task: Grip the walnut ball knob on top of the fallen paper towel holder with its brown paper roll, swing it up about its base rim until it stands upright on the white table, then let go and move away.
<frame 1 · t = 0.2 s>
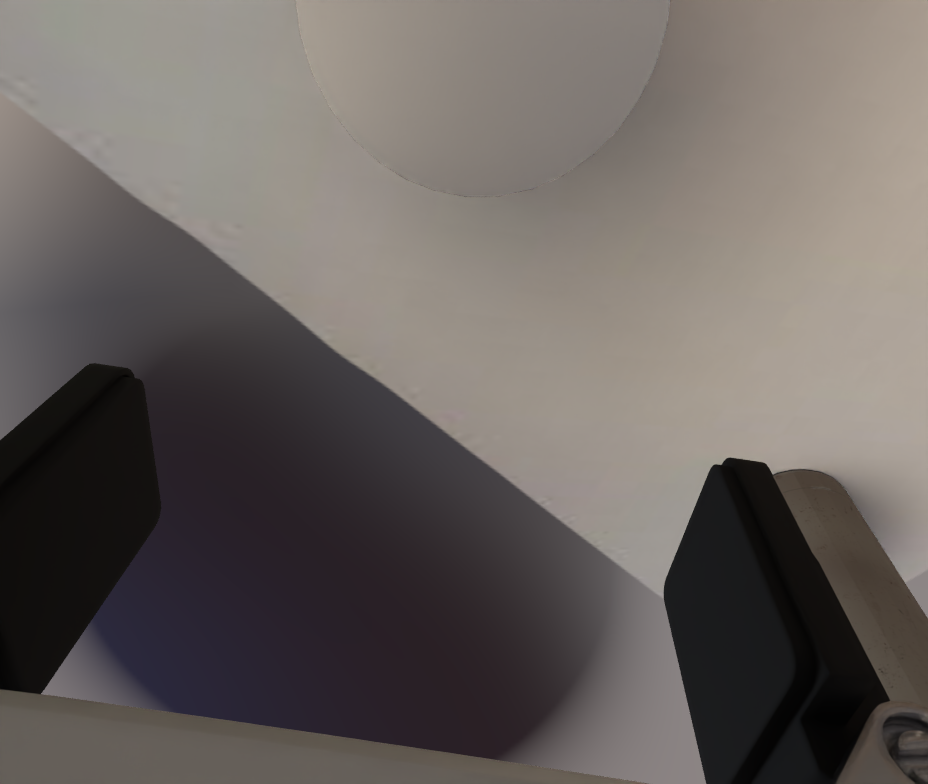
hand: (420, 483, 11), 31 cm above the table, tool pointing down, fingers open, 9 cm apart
thermos bottle: (789, 510, 50), on the table
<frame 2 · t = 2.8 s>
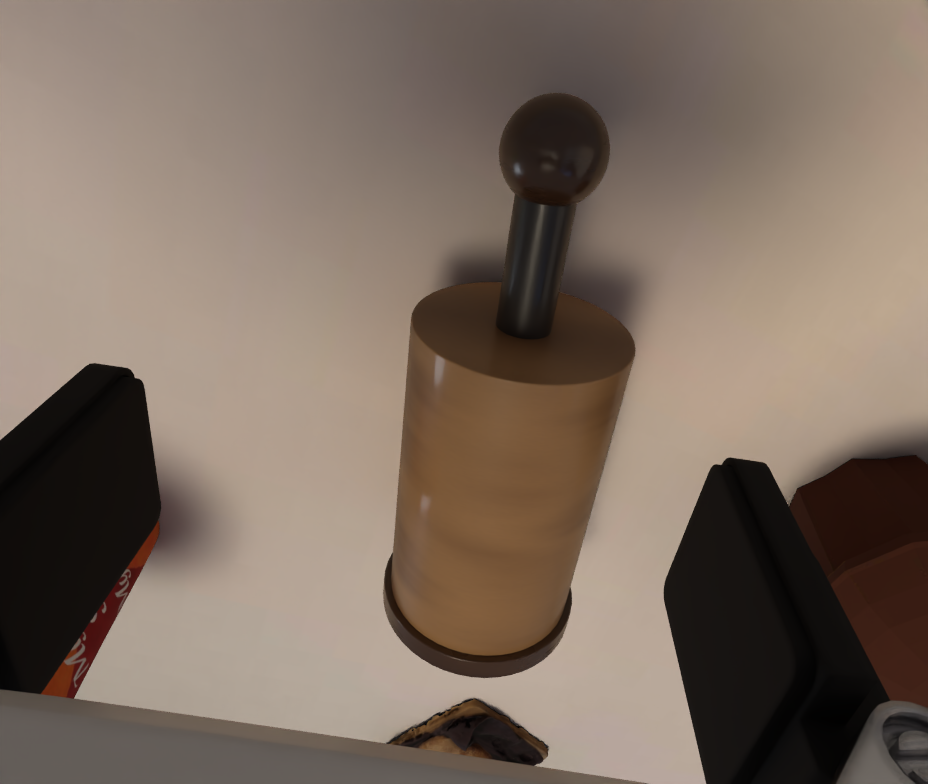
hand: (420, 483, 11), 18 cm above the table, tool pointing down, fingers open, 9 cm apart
paper cup: (109, 513, 36), on the table
muffin: (867, 523, 33), on the table
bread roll: (457, 750, 46), on the table
paper towel holder: (510, 400, 26), point 4 cm above the table, hinge at -90.1°
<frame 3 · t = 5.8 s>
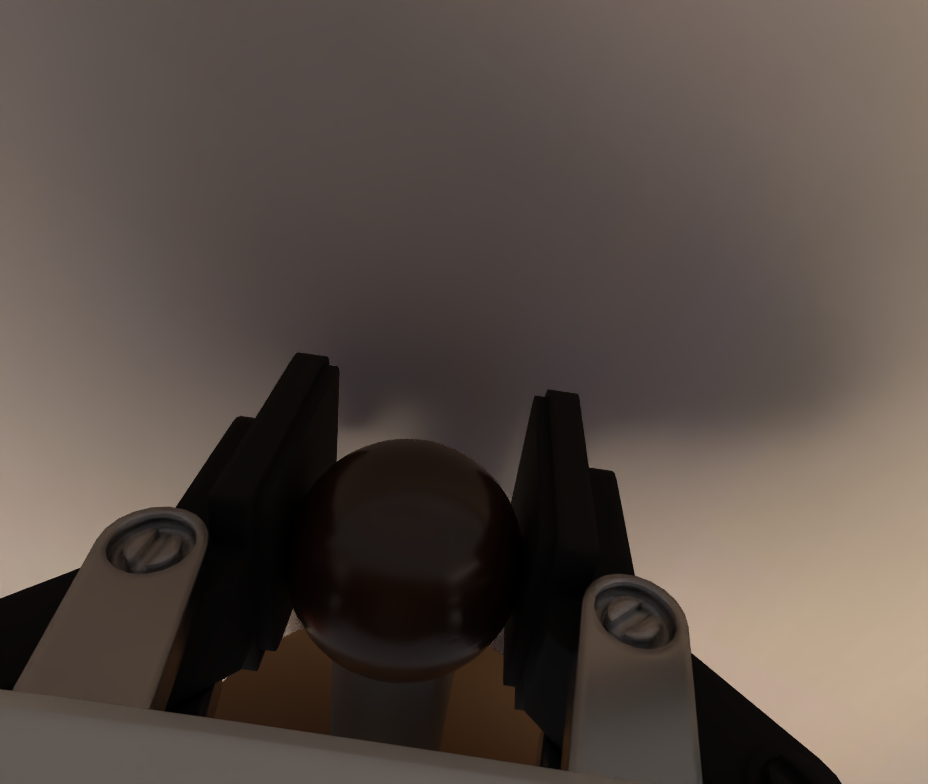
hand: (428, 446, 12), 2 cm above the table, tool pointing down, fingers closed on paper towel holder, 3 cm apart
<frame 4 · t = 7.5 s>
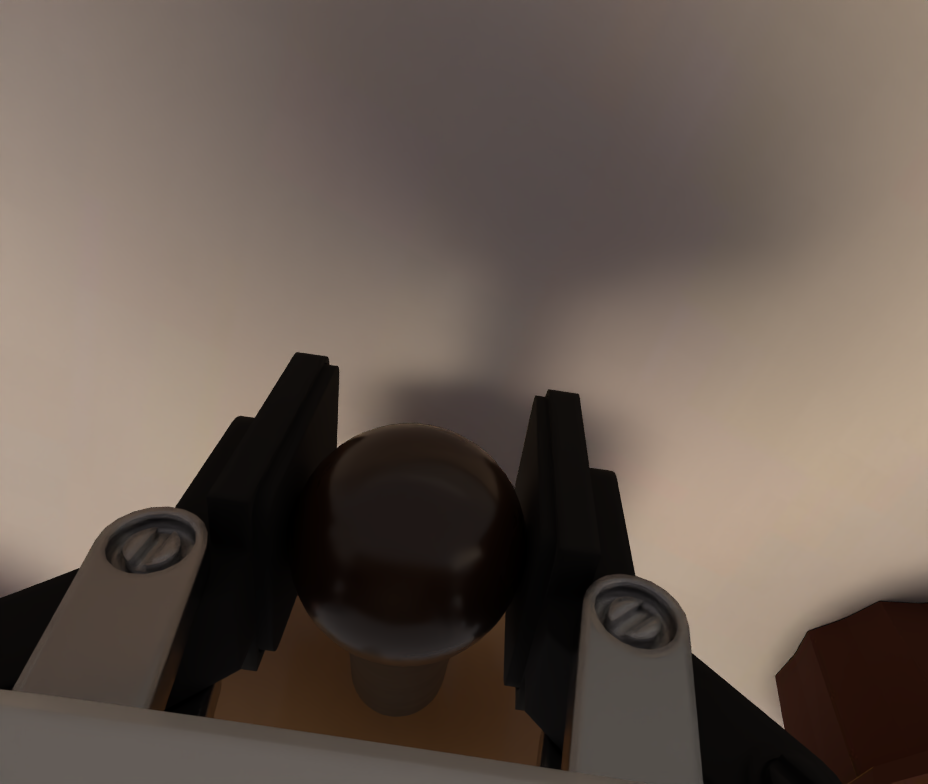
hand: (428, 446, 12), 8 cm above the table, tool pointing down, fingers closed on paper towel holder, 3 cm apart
muffin: (893, 672, 27), on the table
paper towel holder: (395, 704, 17), point 8 cm above the table, hinge at -70.3°, touching gripper
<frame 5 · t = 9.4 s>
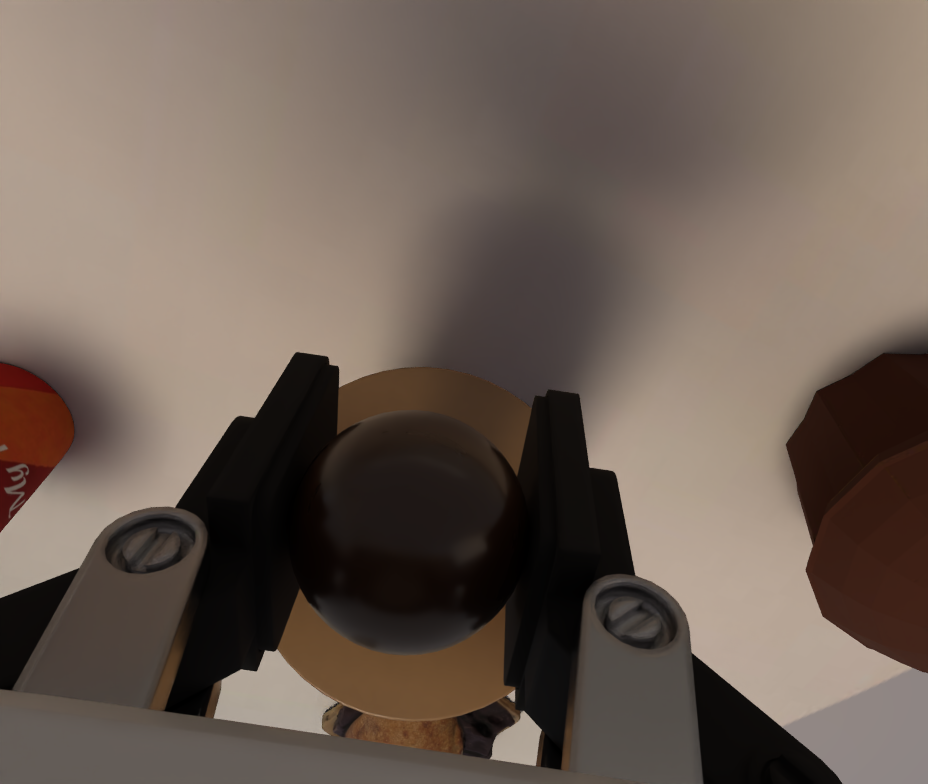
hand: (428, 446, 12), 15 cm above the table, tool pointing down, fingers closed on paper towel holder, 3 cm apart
paper cup: (16, 410, 31), on the table
muffin: (896, 438, 29), on the table
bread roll: (419, 711, 41), on the table
paper towel holder: (422, 535, 19), point 11 cm above the table, hinge at -44.1°, touching gripper
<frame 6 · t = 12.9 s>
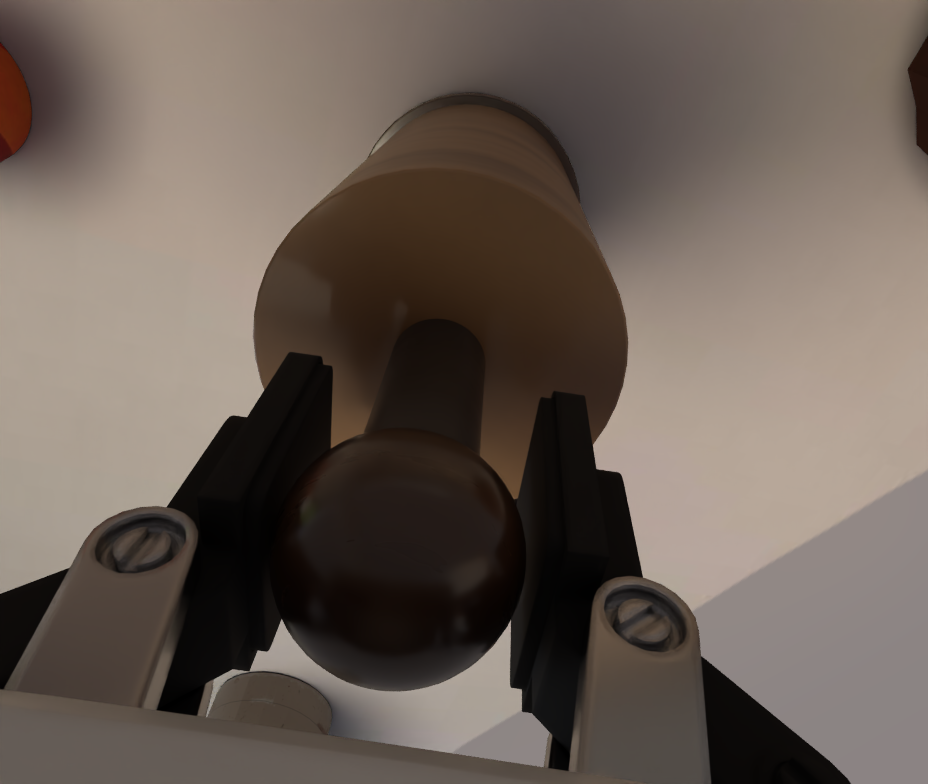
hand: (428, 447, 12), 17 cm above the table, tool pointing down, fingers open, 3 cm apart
thermos bottle: (275, 705, 46), on the table
paper towel holder: (449, 309, 17), point 11 cm above the table, hinge at -4.0°
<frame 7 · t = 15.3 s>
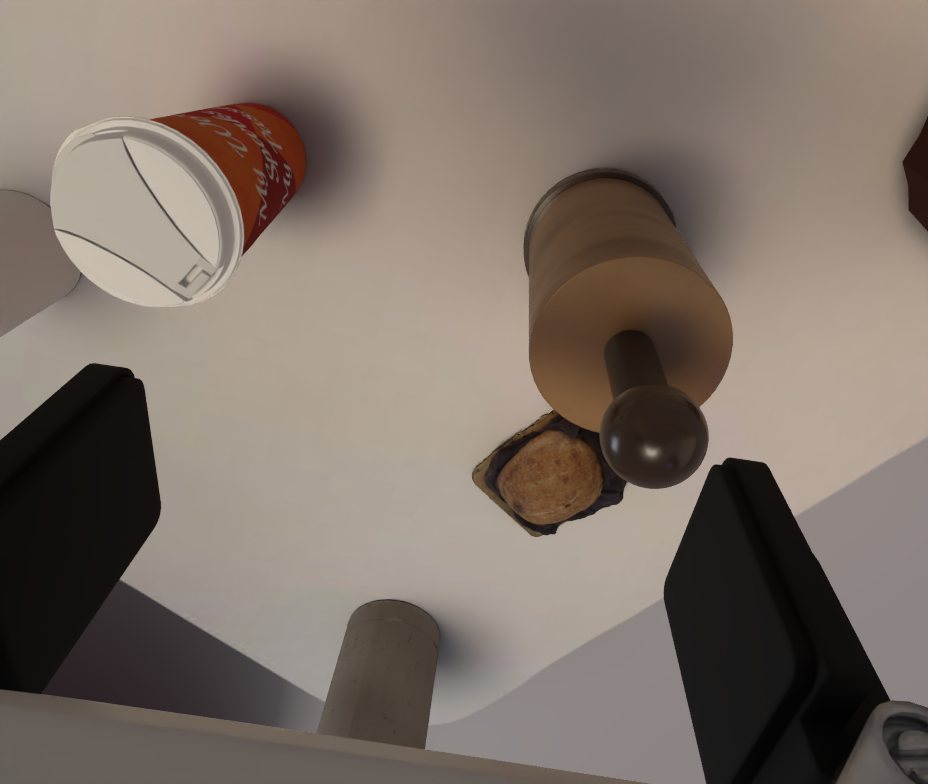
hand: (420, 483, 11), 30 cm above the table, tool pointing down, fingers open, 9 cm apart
paper cup: (259, 153, 38), on the table
cylindrical container: (27, 246, 42), on the table
thermos bottle: (394, 630, 58), on the table
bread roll: (557, 465, 47), on the table
paper towel holder: (619, 320, 30), point 11 cm above the table, hinge at -0.3°
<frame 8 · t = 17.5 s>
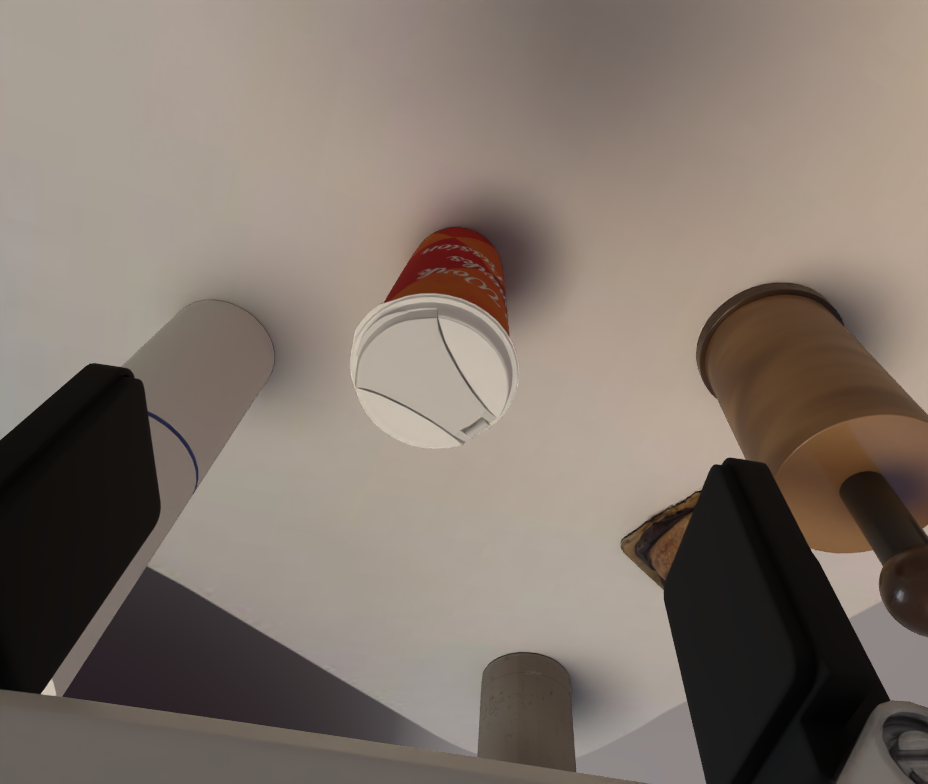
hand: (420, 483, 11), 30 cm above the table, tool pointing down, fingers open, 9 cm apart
paper cup: (456, 269, 41), on the table
cylindrical container: (223, 347, 45), on the table
thermos bottle: (525, 679, 61), on the table
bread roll: (702, 535, 51), on the table
paper towel holder: (835, 447, 33), point 11 cm above the table, hinge at 0.0°
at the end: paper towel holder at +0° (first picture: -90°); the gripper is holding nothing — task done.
